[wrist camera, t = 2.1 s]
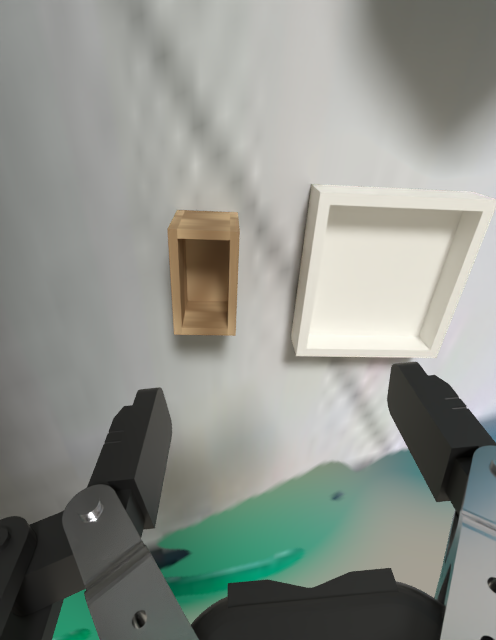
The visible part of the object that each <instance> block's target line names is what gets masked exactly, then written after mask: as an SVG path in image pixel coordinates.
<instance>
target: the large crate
mask: <svg viewBox="0 0 496 640" xmlns="http://www.w3.org/2000/svg"><path fill="white" fill-rule="evenodd" d="M495 208H496V199H493V198H490V197H487V196H484V195H481V194H478V193H475V192H469V191H448V190H426V189H405V188H384V187H362V186H341V185H319V184H311V191H310V199H309V206H308V214H307V221H306V228H305V236H304V243H303V251H302V258H301V266H300V273H299V280H298V288H297V295H296V303H295V310H294V318H293V325H292V332H291V339H292V343H293V347H294V350H295V354H296V356H328V357H401V358H436V357H437V355H438V352H439V350H440V347H441V345H442V342H443V340H444V337H445V334H446V332H447V329H448V327H449V324H450V322H451V319H452V317H453V314H454V312H455V309H456V307H457V304H458V302H459V299H460V297H461V294H462V291H463V289H464V286H465V284H466V281H467V279H468V276H469V274H470V271H471V269H472V266H473V264H474V261H475V259H476V256H477V254H478V251H479V248H480V246H481V243H482V241H483V238H484V236H485V233H486V231H487V228H488V226H489V223H490V221H491V218H492V216H493V213H494V211H495Z"/></svg>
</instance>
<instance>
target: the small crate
mask: <svg viewBox="0 0 496 640" xmlns="http://www.w3.org/2000/svg"><path fill="white" fill-rule="evenodd" d="M239 234H240V231H239V220H238V212H214V211H189V210H177V211H176V213H175V215H174V217H173V219H172V221H171V223H170V225H169V227H168V245H169V260H170V276H171V292H172V308H173V324H174V334H175V335H232V336H235V333H236V308H237V284H238V259H239Z"/></svg>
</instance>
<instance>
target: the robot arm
mask: <svg viewBox="0 0 496 640" xmlns="http://www.w3.org/2000/svg"><path fill="white" fill-rule="evenodd" d="M387 402H388V408H389V411H390V414H391V416H392V418H393V420H394V422H395V424H396V426H397V428H398V430H399V432H400V433H401V435H402V437H403V439H404V441H405V443H406V445H407V447H408V449H409V451H410V453H411V454H412V456H413V458H414V460H415V462H416V464H417V466H418V468H419V470H420V472H421V474H422V475H423V477H424V479H425V481H426V483H427V485H428V487H429V489H430V491H431V493H432V494H433V496H434V498H435V500H436V502H442V501H451V503H452V504H453V507H454V508H455V512H454V515H453V519H452V524H451V528H450V533H449V538H448V542H447V547H446V552H445V556H444V561H443V566H442V570H441V574H440V578H439V582H438V585H437V589H436V593H435V597H434V598H433V597H431V596H430V595H428V594H426V593H425V592H423V591H421V590H419V589H417V588H415V587H412V586H410V585H407V584H404V583H401V582H396V581H395V579H394V576H393V573H392V570H391V568H385V569H375V570H364V571H353V572H349V573H347V574H344V575H342V576H340V577H337V578H335V579H332V580H330V581H328V582H326V583H323V584H321V585H318V586H316V587H313V588H306V587H301V586H296V585H291V584H286V583H282V582H277V581H272V580H258V581H248V582H237V583H228V597H226V598H224V599H221V600H219V601H218V602H216V603H214V604H213V605H211V606H210V607H209V608H207V609H206V610H205V611H204V612H203V613H201V614H200V615H199V617H197V618H196V619H195V620H194V622H193V623H192V624H191V625H190V623H189V621H188V620H187V618H186V616H185V614H184V612H183V611H182V609H181V607H180V605H179V604H178V602H177V600H176V598H175V596H174V594H173V593H172V591H171V589H170V587H169V586H168V584H167V582H166V580H165V578H164V577H163V575H162V573H161V571H160V569H159V568H158V566H157V564H156V562H155V560H154V559H153V557H152V555H151V553H150V552H149V550H148V548H147V547H146V545H144V543H143V541H142V539H141V537H142V532H143V529H152V528H155V524H156V519H157V513H158V508H159V502H160V497H161V491H162V486H163V481H164V475H165V470H166V464H167V459H168V453H169V448H170V442H171V437H172V423H171V418H170V414H169V411H168V407H167V404H166V400H165V397H164V394H163V391H162V389H161V388H150V389H141V390H138V392H137V394H136V397H135V400H134V403H133V405H132V406H124V407H123V408H122V409H121V410H120V412H119V413H118V414H117V415H116V416H115V417H114V419H113V421H112V424H111V427H110V429H109V434H108V435H107V437H106V440H105V444H104V445H103V448H102V450H101V453H100V455H99V458H98V461H97V463H96V466H95V469H94V471H93V474H92V476H91V479H90V482H89V484H88V486H87V488H85V489H84V490H82V491H80V492H79V493H78V494H76V495H75V496H74V497H73V498H72V499H71V500H70V502H69V503H68V504H67V506H66V508H65V510H64V511H62V512H60V513H58V514H55V515H53V516H50V517H48V518H45V519H43V520H40V521H38V522H35V523H33V524H30V525H29V524H28V523H27V521H26V520H25V519H23V518H21V517H17V516H13V517H7V518H4V519H2V520H0V640H52V637H53V634H54V630H55V627H56V624H57V620H58V617H59V613H60V610H61V606H62V603H63V600H64V598H66V597H69V596H71V595H73V594H75V593H77V592H79V591H81V590H84V589H86V591H85V593H84V594H85V599H86V602H87V605H88V608H89V610H90V614H91V616H92V619H93V622H94V625H95V627H96V630H97V633H98V636H99V639H100V640H496V443H495V441H494V440H493V439H492V438H491V436H490V435H489V434H488V433H487V431H486V430H485V429H484V428H483V426H482V425H481V424H480V423H479V421H478V420H477V419H476V418H475V416H474V415H473V414H472V413H471V411H470V410H469V409H467V408H466V405H465V404H464V402H463V401H462V400H461V399H459V396H458V395H457V394H456V392H455V391H454V390H453V389H452V387H451V386H450V385H449V384H448V383H446V382H445V381H443V380H442V379H440V378H439V377H437V376H436V375H430V376H428V375H427V374H426V373H425V371H424V370H423V368H422V367H421V366H420V364H419V363H417V362H408V363H398V364H393V365H392V367H391V374H390V381H389V389H388V396H387Z"/></svg>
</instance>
